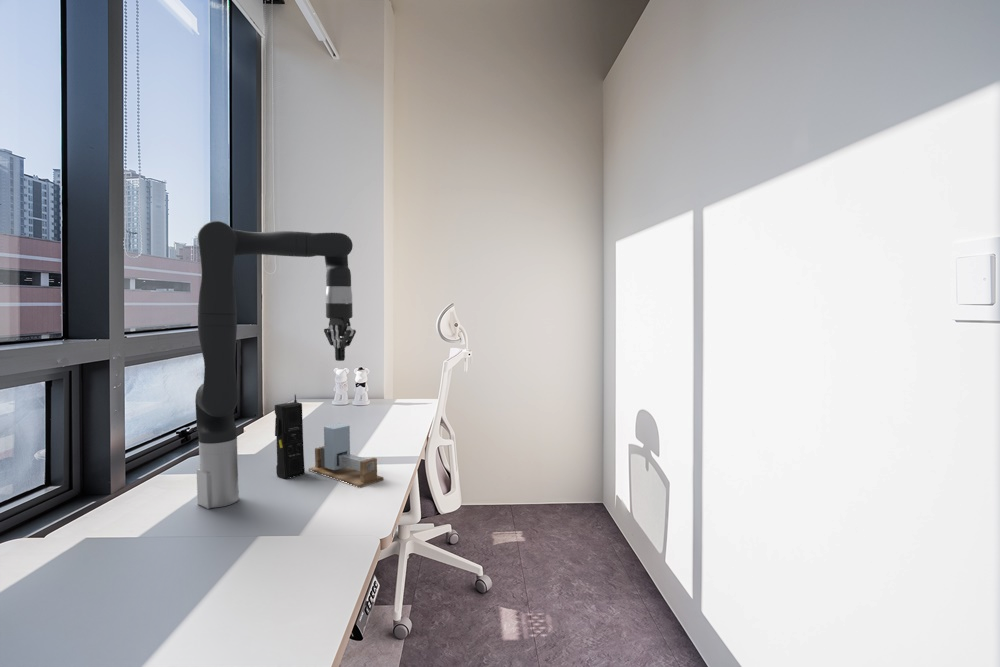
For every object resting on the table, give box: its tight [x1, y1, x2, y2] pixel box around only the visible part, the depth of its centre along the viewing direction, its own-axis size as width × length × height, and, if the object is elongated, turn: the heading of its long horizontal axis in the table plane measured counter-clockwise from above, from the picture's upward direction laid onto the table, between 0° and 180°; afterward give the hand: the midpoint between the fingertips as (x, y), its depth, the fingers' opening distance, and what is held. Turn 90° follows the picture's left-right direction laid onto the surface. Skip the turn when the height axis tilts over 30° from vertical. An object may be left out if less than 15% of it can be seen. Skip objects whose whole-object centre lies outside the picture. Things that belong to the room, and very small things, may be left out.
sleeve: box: [323, 423, 351, 470], centre depth 172 cm, size 5×6×13 cm
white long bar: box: [320, 450, 374, 473], centre depth 170 cm, size 25×3×3 cm, turn 52°
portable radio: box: [274, 394, 306, 480], centre depth 169 cm, size 8×6×25 cm
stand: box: [308, 445, 384, 488], centre depth 170 cm, size 26×9×7 cm, turn 52°
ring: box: [320, 446, 325, 467], centre depth 175 cm, size 2×6×6 cm, turn 142°
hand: (340, 360), depth 161 cm, fingers closed
